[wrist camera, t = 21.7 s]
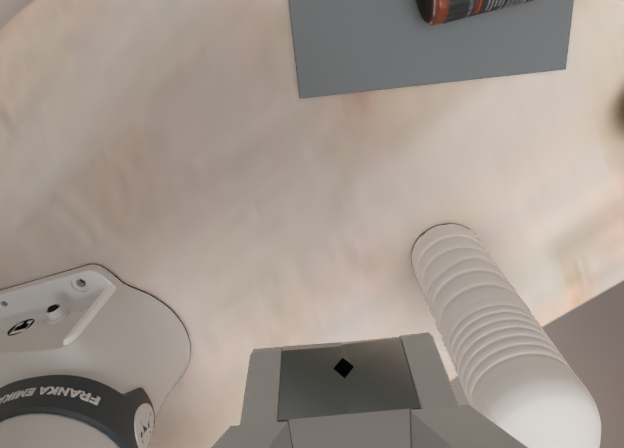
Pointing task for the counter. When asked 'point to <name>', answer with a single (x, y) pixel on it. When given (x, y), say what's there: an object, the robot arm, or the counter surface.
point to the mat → (421, 44)
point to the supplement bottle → (459, 9)
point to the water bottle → (501, 345)
